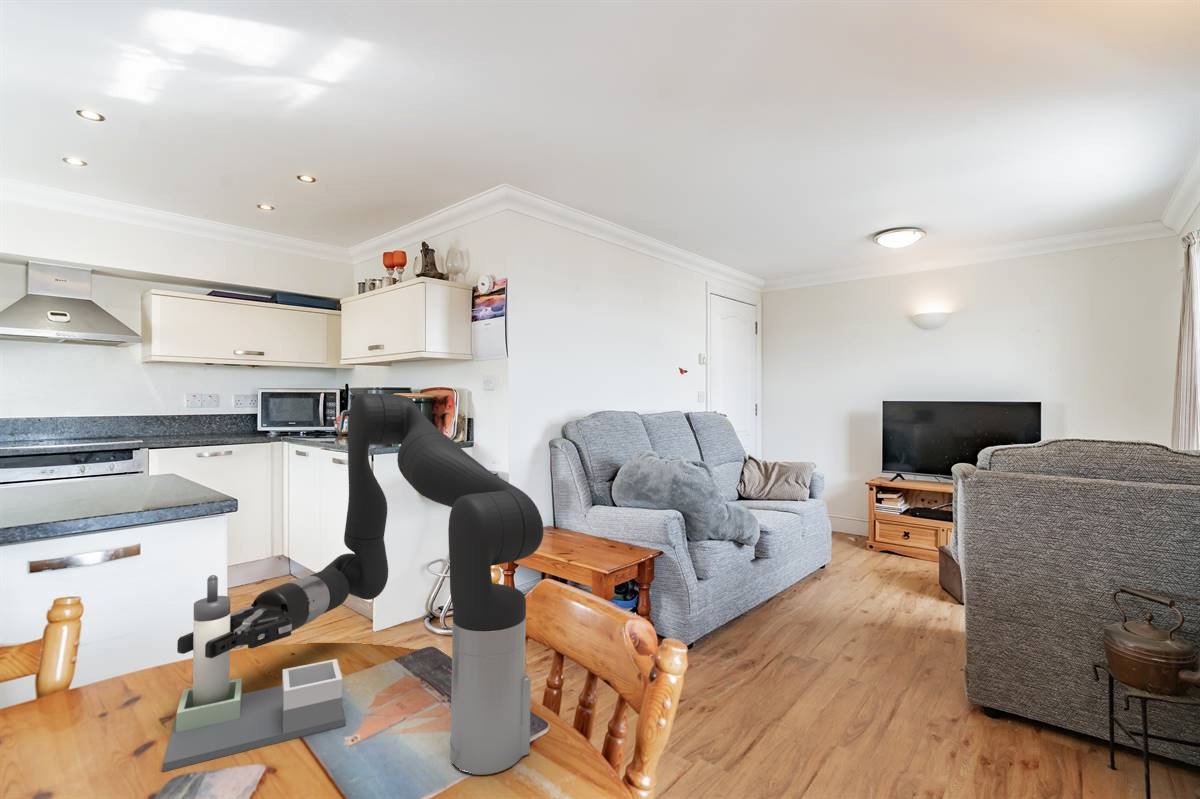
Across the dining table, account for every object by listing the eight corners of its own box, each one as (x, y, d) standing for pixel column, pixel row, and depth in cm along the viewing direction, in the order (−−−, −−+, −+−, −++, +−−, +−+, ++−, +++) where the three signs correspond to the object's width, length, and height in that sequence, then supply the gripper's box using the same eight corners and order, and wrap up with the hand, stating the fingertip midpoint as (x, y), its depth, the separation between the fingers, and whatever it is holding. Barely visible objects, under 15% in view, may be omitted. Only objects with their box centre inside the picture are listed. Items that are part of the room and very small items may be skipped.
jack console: (334, 680, 90) (335, 639, 90) (345, 725, 77) (346, 678, 78) (178, 713, 80) (179, 667, 80) (162, 771, 67) (164, 717, 67)
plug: (230, 690, 81) (231, 569, 81) (228, 704, 78) (229, 577, 78) (194, 698, 79) (195, 573, 79) (190, 713, 76) (192, 581, 76)
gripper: (257, 578, 94) (152, 615, 78) (329, 586, 91) (236, 626, 74) (256, 623, 94) (151, 669, 78) (328, 633, 91) (235, 684, 74)
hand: (194, 648), depth 76 cm, fingers closed on plug, 4 cm apart
